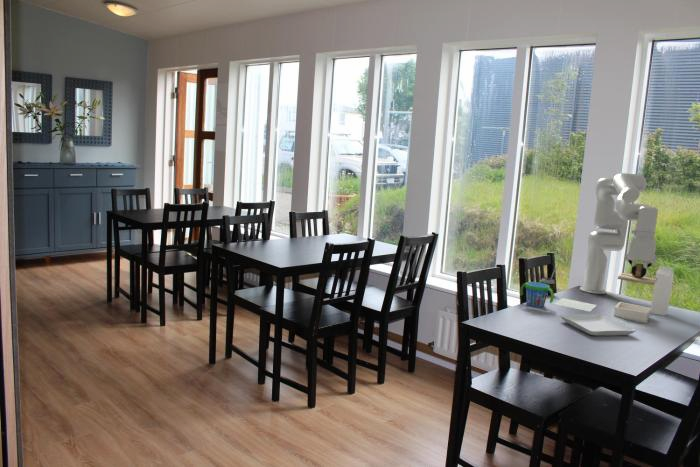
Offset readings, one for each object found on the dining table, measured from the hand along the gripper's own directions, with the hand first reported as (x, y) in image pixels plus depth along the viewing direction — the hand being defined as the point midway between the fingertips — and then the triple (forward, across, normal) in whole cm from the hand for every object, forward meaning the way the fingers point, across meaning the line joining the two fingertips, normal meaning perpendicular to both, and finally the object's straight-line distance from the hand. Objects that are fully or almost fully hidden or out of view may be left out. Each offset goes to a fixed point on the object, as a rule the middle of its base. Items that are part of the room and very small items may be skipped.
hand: (638, 275), depth 258 cm
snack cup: (+19, -38, -17) cm, 46 cm away
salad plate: (+20, -9, -33) cm, 39 cm away
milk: (+19, +9, +19) cm, 28 cm away
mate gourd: (+19, -40, +11) cm, 46 cm away
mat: (+19, -24, 0) cm, 30 cm away
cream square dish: (+19, 0, 0) cm, 19 cm away
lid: (+2, 0, 0) cm, 2 cm away
